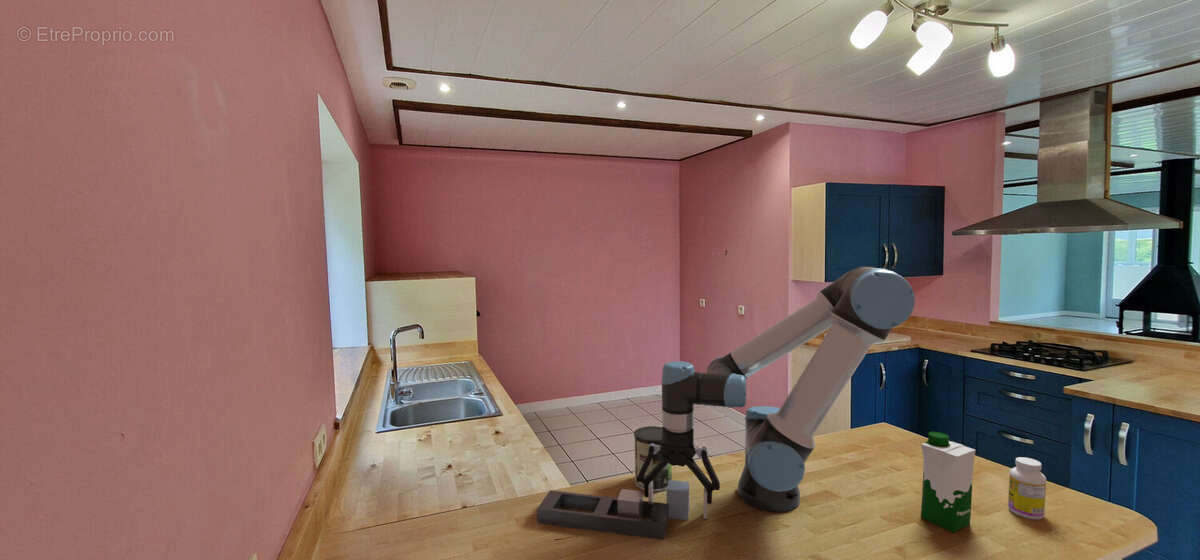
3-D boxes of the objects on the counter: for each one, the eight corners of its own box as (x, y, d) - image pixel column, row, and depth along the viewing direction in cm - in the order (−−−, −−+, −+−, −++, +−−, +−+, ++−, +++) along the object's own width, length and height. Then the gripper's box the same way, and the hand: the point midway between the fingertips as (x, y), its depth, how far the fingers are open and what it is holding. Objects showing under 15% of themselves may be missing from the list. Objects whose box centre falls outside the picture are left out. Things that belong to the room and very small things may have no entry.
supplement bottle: (1009, 502, 123) (1012, 452, 122) (1045, 512, 118) (1048, 460, 117) (1005, 513, 118) (1008, 461, 117) (1043, 524, 114) (1046, 470, 113)
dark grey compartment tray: (668, 517, 118) (668, 503, 118) (664, 539, 110) (664, 524, 109) (550, 503, 126) (549, 490, 125) (537, 523, 117) (537, 508, 117)
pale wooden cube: (642, 519, 118) (642, 491, 117) (639, 531, 113) (638, 502, 112) (622, 517, 119) (621, 489, 118) (617, 528, 114) (617, 499, 114)
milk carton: (935, 507, 121) (938, 428, 120) (977, 525, 113) (981, 441, 112) (914, 516, 117) (917, 434, 116) (956, 536, 109) (959, 449, 108)
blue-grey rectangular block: (689, 509, 122) (689, 481, 122) (687, 520, 117) (687, 491, 117) (668, 506, 123) (668, 479, 123) (666, 517, 118) (666, 489, 118)
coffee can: (673, 475, 140) (672, 426, 139) (670, 493, 130) (670, 441, 129) (636, 472, 142) (636, 424, 141) (631, 490, 132) (631, 438, 131)
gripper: (730, 425, 119) (729, 510, 121) (630, 417, 125) (630, 498, 127) (731, 436, 112) (730, 527, 114) (624, 428, 118) (625, 514, 120)
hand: (677, 512), depth 120 cm, fingers open, 12 cm apart
